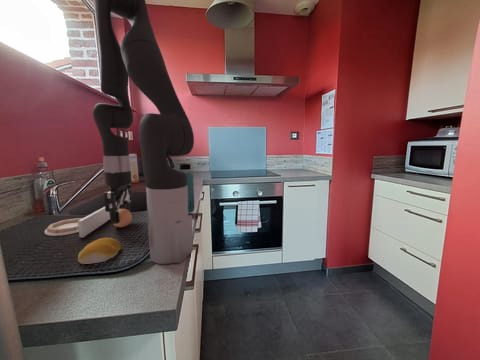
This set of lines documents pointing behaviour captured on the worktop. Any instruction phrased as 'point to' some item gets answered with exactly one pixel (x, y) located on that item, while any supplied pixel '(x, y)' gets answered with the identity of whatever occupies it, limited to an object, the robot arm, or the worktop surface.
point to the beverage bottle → (189, 186)
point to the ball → (124, 218)
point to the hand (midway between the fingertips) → (121, 218)
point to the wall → (92, 222)
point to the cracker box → (134, 168)
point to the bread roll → (99, 251)
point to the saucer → (63, 227)
